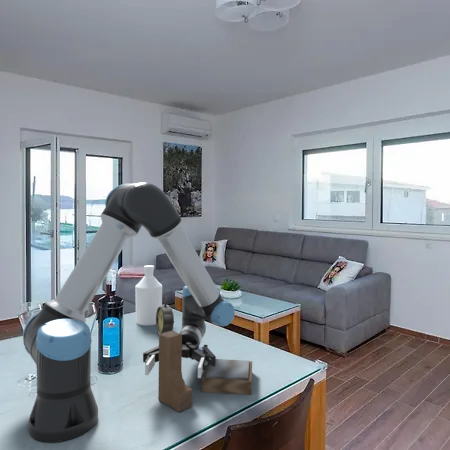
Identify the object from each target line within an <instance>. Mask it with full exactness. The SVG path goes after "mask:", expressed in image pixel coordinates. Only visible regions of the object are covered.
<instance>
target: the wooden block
mask: <svg viewBox="0 0 450 450" xmlns="http://www.w3.org/2000/svg"><path fill="white" fill-rule="evenodd" d="M158 338H159V339H158V346H159V361H158V398H157V399H158V401H160V402H161V403H163V404H165V405H167V406H168V407H170V408H171V409H173V410H175V411H176V412H179V413H182V412H183V411H185V410H188V409H189V408H191V407H193V389H192V388H191V387H190V386H189V385H187V384H186V382H185V380H184V378H183V372H182V360H183V359H182V358H183V357H182V335H181V334H179V332H176V331H174V330H172V331H169V332H165V333H162V334H158Z"/></svg>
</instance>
